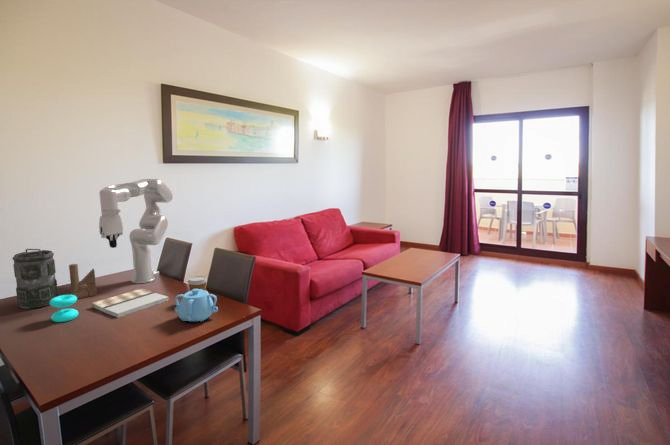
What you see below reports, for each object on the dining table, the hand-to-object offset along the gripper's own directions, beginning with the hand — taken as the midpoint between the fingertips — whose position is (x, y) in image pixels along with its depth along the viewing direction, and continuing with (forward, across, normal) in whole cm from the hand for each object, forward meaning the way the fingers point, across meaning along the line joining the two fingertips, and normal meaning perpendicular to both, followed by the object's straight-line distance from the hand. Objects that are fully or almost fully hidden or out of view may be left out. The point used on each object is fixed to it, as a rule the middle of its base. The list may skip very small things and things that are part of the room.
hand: (113, 247), depth 196 cm
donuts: (+25, +31, +12) cm, 42 cm away
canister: (+26, +28, -19) cm, 43 cm away
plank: (+25, +5, +14) cm, 30 cm away
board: (+26, +5, +26) cm, 37 cm away
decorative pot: (+26, 0, +62) cm, 67 cm away
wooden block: (+26, +12, -10) cm, 30 cm away
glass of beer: (+26, -15, +45) cm, 54 cm away
